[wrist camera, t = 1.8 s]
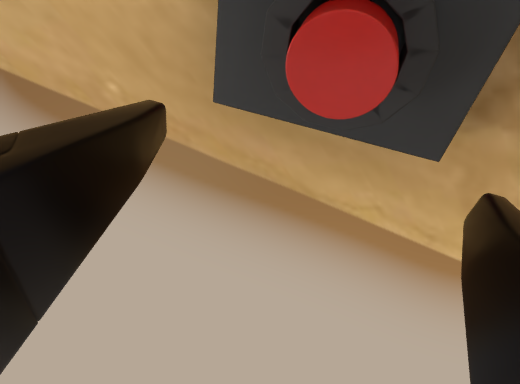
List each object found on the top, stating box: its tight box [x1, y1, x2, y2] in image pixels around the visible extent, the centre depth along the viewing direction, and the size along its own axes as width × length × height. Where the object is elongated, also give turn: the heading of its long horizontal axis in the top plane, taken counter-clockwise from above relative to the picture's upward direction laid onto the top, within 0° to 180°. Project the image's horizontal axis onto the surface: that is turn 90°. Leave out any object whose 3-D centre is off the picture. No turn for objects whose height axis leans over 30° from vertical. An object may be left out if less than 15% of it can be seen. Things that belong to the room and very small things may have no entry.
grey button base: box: [213, 0, 520, 162], centre depth 17 cm, size 13×10×4 cm
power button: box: [285, 0, 399, 119], centre depth 15 cm, size 4×4×2 cm
